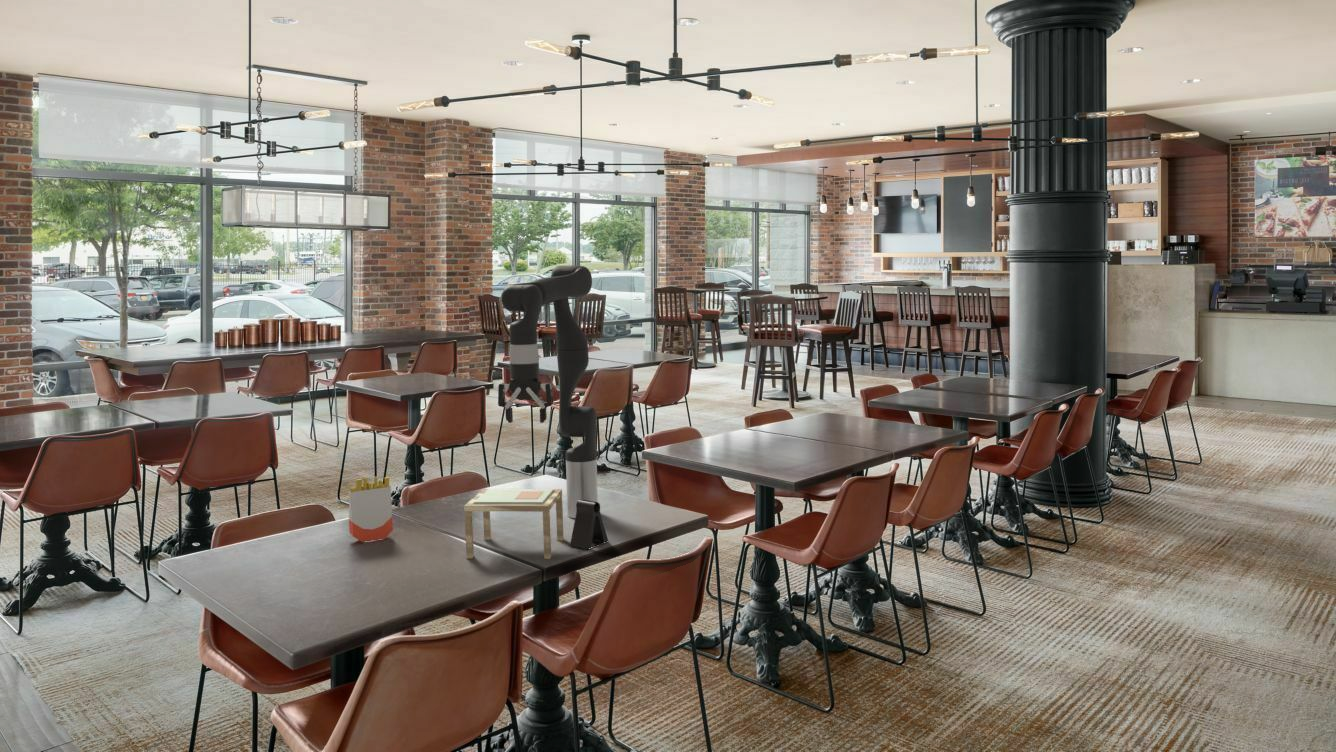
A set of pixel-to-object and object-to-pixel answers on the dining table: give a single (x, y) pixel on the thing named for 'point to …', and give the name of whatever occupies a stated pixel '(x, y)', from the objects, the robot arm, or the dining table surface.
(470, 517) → the miniature wooden table
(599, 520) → the black a-frame stand
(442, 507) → the dining table surface
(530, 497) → the pale green book
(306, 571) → the dining table surface
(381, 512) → the french fries container
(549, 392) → the robot arm
